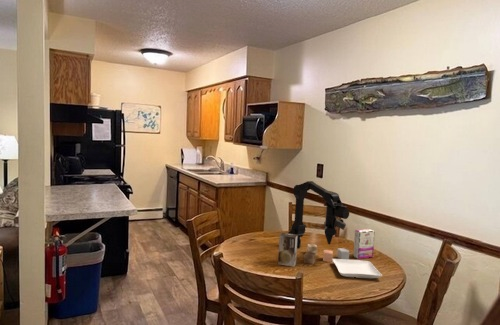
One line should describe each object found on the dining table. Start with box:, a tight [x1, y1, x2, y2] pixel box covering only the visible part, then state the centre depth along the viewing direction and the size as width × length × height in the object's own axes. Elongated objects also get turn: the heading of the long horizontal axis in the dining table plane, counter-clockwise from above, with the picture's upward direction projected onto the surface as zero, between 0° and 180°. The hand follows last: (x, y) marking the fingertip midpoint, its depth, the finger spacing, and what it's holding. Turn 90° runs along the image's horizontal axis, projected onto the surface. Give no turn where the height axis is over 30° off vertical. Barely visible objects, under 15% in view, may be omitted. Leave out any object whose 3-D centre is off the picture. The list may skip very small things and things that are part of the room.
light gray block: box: [336, 248, 351, 260], centre depth 204 cm, size 5×5×5 cm
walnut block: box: [303, 251, 317, 265], centre depth 194 cm, size 5×5×5 cm
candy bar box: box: [352, 228, 376, 260], centre depth 207 cm, size 11×5×16 cm, turn 112°
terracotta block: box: [322, 249, 334, 263], centre depth 199 cm, size 5×5×5 cm
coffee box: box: [277, 232, 298, 268], centre depth 189 cm, size 9×6×16 cm
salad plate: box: [332, 258, 383, 279], centre depth 184 cm, size 21×21×3 cm
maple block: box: [306, 243, 318, 256], centre depth 208 cm, size 5×5×5 cm
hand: (328, 241), depth 198 cm, fingers open, 9 cm apart
